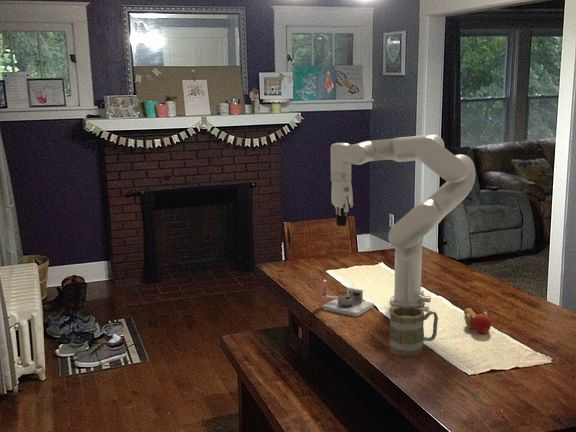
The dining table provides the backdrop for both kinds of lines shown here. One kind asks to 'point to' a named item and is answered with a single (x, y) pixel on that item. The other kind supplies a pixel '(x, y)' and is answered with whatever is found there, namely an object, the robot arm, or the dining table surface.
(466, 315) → the kendama
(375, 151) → the robot arm
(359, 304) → the stand
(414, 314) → the mug
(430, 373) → the dining table surface
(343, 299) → the crank
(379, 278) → the dining table surface
